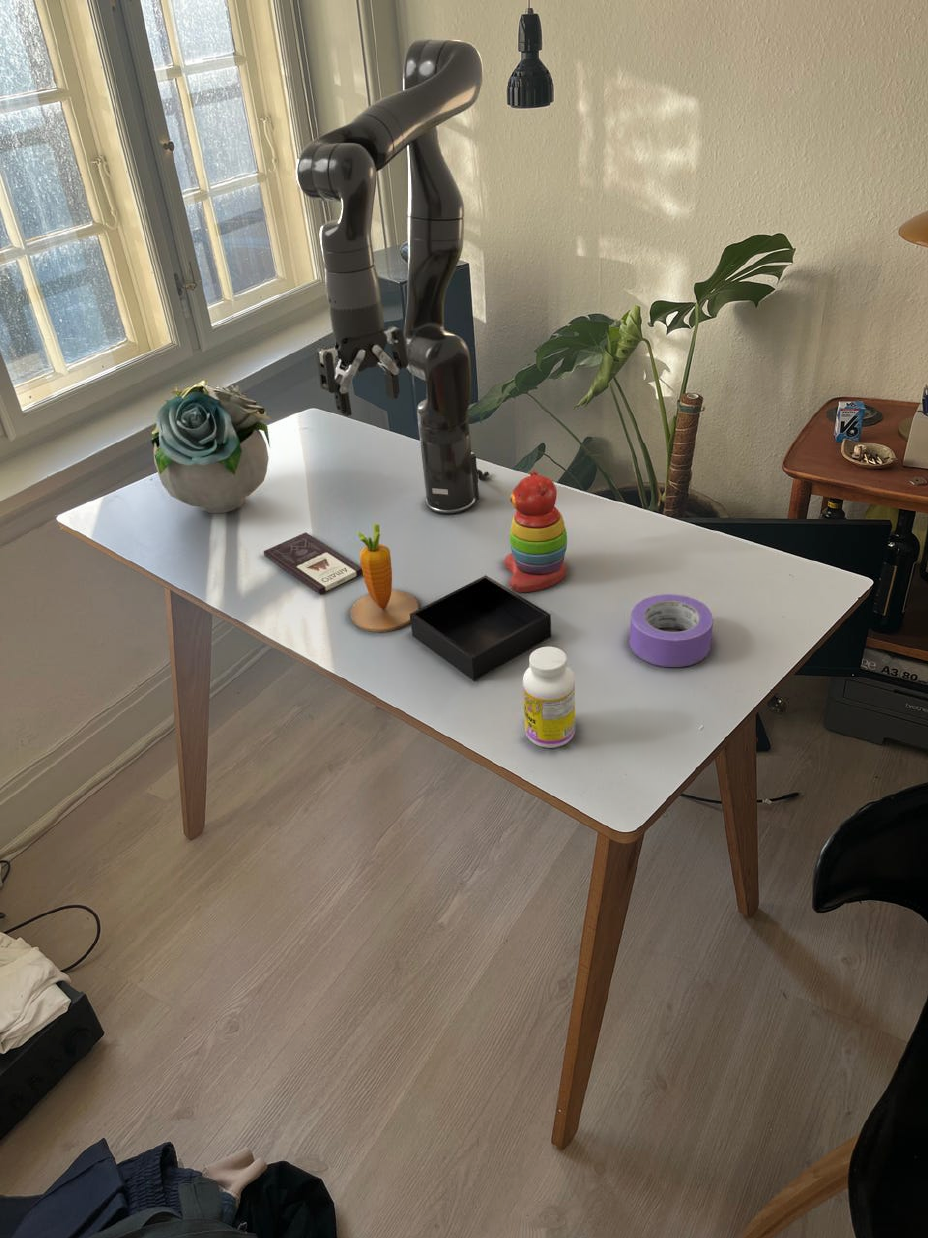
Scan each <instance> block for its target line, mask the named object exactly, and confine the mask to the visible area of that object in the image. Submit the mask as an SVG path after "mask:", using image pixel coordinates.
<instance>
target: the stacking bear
mask: <svg viewBox="0 0 928 1238" xmlns="http://www.w3.org/2000/svg"><path fill="white" fill-rule="evenodd" d="M557 495H558V491H557V487H556V485H555V483H554V481H553V480H552V479H550V478H549V477H548V476H544V475H542V474H538V472H537V471H535V470H531V471H530V472H529V475H528V476H525V477H524V478H522V479H521V480H520V481H519V482H518V484H517V486H515V488H514V489H513V490H512V492H511V495H510V499H509V501H510V503H511V505H512V506H513V508H514V509H515V511H514V514H513V517H512V521H511V526H510V527H511V528H510V531H509V546H510V551H511V553H509V554H507V555H506V556H505V557H504V567H505V568H506V569H507V570H509V571H510V572H511V573H512V575H511V578H510V580H509V586H510V588H511V589H510V590H511V591H515V592H517V593H529V592H535V591H539V590H543V589H547V588H549V587H551V586H555V585H556V584H558V583H559V582H561V581H562V580H563V579H564V578H565V576H566V575H567V566H566V563H565V561H564V560H565V557H566V552H567V546H568V534H567V529H566V528H567V527H566V526H565V520H564V517H563V515H562V513H561V512H560V511H559V509H558V508H557V507H556V506H555V505H556V502H557Z"/></svg>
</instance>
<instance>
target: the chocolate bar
mask: <svg viewBox="0 0 928 1238" xmlns="http://www.w3.org/2000/svg"><path fill="white" fill-rule="evenodd" d="M263 555H264V557H266V558H267V559H269V560H270V561H271V562H273V563H274V564H275V565H277V566H278V567H279V568H281V569H282V570H284V571H285V572H286V573H288V574H290V575H291V576H293V577H294V578H295V579H297V580H298V581H300V582H301V583H302V584H304V585H305V586H306V587H308V588H309V589H310V590H312V591H314V592H315V593H317V594H318V595H321V594H323V593H326V592H327V591H329V590H332V589H333V588H336V587H337V586H339V585H341V584H344V583H345V582H347V581H349V580H351V579H353V578H355V577H357V576H359V575H361V574H362V575H363V572H362V567H361V565H360V566H359V565H358V564H356V563H355V562H354V561H352V560H350V559H349V558H347V557H345V556H344V555H342V554H340V553H339V552H338V551H336V550H334V549H333V548H331V547H330V546H328V545H327V544H325V543H324V542H322V541H320V540H319V539H317V538H315V536H313V535H311V534H310V533H308V532H307V531H305V532H303V533H300V534H298V535H296V536H294V537H292V538H289V539H288V540H285V541H283V542H280V543H279V544H276V545H274V546H272V547H270V548H267V549H265V550H263Z"/></svg>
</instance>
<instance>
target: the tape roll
mask: <svg viewBox="0 0 928 1238" xmlns="http://www.w3.org/2000/svg"><path fill="white" fill-rule="evenodd" d="M629 625H630V626H629V646H630V649H631V650H632V652H633V653H634V654H635V656H637V657H638V658H640V659H641V660H643V661H645V662H647V663H649V664H651V665H655V666H659V667H664V668H684V667H689V666H692V665H695V664H698V663H699V662H701V661H702V660H704V659H705V658H706V657H707V656H708V654H709V652H710V651H711V647H712V646H711V645H712V636H713V635H712V634H713V626H714V616H713V612H712V611H711V609H710V608H709V607H708V606H707V605H706V604H704V603H703V602H701V601H700V600H698V599H695V598H694V597H690V596H687V595H684V594H683V595H682V594H676V593H672V594H671V593H663V594H656V595H651V596H648V597H646V598H645V597H644V599H641V600H640V601H639V602H637V603H636V604H635V605H634V606H633V607H632V609H631V611H630V623H629ZM664 628H665V629H666V628H670V629H671V628H672V629H678V630H680V631H666V630H662V629H664Z"/></svg>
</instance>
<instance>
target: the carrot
mask: <svg viewBox="0 0 928 1238" xmlns="http://www.w3.org/2000/svg"><path fill="white" fill-rule="evenodd" d="M357 536H359V539H360V541H361V542H362V543H363V544H364V545H365V547H363V548H362V549H361V550H360V552H359V553H360V554H359V556H360V557H359V561H360V567H361V568H362V572H363V573H362V576H363V580H364V583H365V586H366V589H367V591H368V594H370V596H371V598H372V599H373V601H374V602H375V603H376V604H377V605H378V606H379V608H381V609H385V608H386V607H387V604H388V602H389V600H390V596H391V590H393V589H392V588H393V570H392V569H393V568H392V559H391V550H390V549H389V547H387V546H386V545H384V544H380V538H381V537H380V536H381V533H380V524H378V523H374V524H373V538H372V537H371V536H368V537H366V536H365V534H363V533H362V532H360V531H358V532H357Z"/></svg>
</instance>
